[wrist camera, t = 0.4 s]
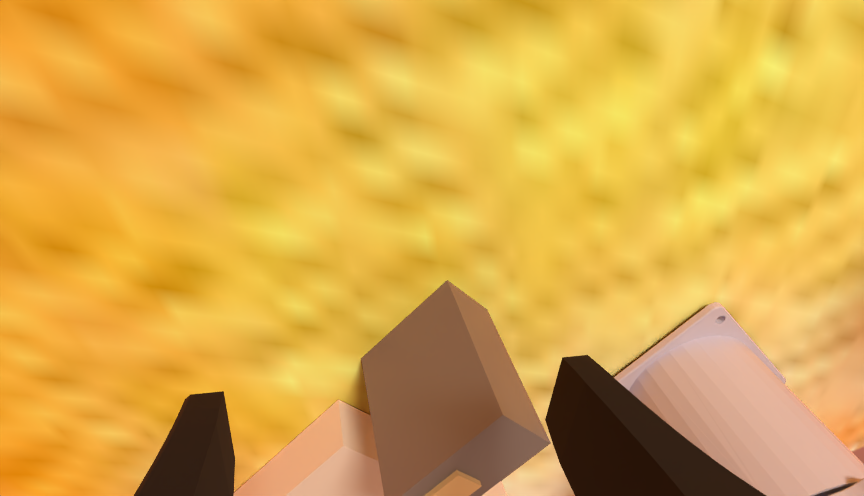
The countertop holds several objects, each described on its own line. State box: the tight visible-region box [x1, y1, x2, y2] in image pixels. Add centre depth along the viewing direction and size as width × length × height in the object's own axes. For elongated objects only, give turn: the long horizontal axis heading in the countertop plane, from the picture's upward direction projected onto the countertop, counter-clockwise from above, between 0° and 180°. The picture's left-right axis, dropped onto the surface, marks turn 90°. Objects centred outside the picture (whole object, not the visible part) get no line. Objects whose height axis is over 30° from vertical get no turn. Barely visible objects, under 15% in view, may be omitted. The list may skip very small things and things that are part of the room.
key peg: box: [361, 280, 550, 496], centre depth 21 cm, size 3×5×7 cm, turn 134°
